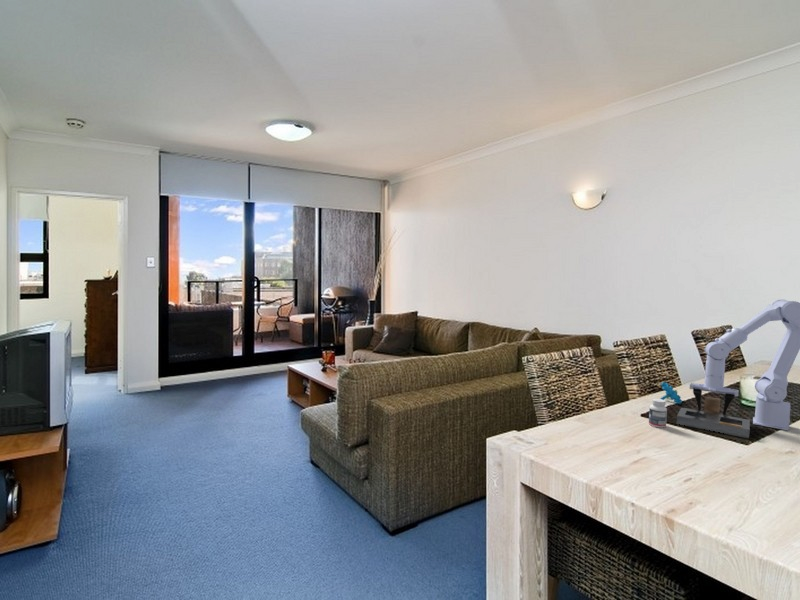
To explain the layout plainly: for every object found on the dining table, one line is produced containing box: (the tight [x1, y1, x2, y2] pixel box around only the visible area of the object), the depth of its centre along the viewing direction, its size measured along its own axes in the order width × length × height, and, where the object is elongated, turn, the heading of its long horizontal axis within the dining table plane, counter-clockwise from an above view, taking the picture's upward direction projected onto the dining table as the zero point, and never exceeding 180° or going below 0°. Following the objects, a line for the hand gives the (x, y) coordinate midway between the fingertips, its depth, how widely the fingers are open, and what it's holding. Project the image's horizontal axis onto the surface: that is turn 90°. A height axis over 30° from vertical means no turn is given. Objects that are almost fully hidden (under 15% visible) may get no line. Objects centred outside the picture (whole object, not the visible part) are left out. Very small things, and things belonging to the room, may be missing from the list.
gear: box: [659, 381, 683, 405], centre depth 184 cm, size 11×6×10 cm
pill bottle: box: [648, 398, 668, 429], centre depth 154 cm, size 5×5×9 cm
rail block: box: [676, 407, 751, 439], centre depth 155 cm, size 20×12×3 cm, turn 52°
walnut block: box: [703, 396, 721, 414], centre depth 164 cm, size 4×4×7 cm
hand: (711, 411), depth 164 cm, fingers open, 7 cm apart
